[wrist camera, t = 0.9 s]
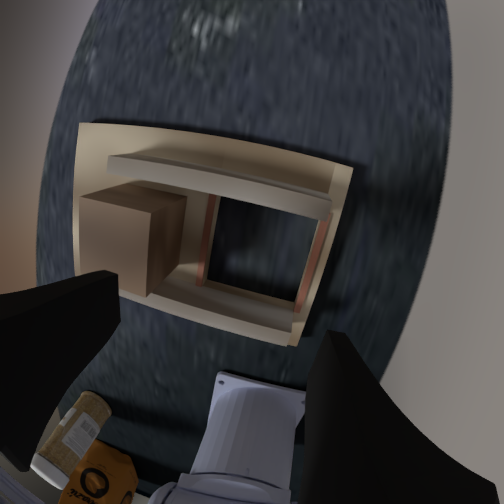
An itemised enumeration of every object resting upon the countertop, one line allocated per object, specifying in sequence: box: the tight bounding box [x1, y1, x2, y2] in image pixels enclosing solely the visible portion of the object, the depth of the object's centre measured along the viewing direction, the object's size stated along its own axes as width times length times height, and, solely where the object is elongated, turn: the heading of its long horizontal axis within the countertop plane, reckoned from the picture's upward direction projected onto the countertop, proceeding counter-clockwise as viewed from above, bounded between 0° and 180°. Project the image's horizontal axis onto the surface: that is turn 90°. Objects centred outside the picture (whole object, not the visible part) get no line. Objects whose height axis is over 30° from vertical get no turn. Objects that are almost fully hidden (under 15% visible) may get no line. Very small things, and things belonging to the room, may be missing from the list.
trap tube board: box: [73, 123, 353, 346], centre depth 17 cm, size 12×18×4 cm, turn 78°
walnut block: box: [79, 184, 187, 298], centre depth 16 cm, size 4×4×4 cm
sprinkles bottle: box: [30, 391, 112, 490], centre depth 22 cm, size 5×5×14 cm
